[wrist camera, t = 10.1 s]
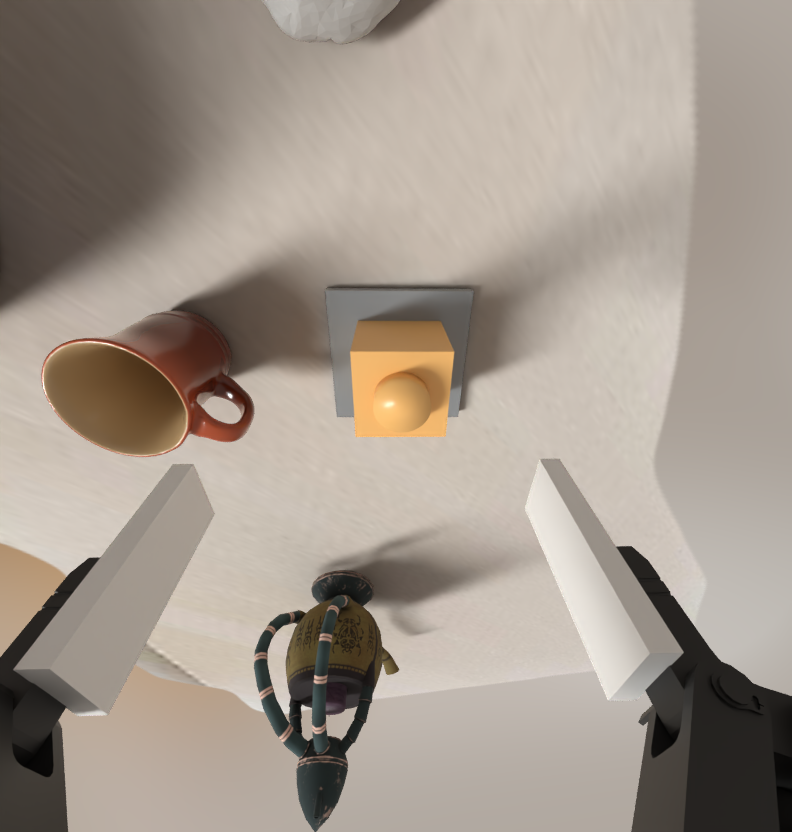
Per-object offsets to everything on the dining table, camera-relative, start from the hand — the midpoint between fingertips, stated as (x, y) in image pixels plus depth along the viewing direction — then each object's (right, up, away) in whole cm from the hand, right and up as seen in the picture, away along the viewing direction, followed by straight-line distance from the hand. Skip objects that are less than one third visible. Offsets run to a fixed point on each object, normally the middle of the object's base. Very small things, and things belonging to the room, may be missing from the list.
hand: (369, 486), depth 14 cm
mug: (-16, +8, +18) cm, 25 cm away
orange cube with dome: (+1, +8, +17) cm, 19 cm away
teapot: (-5, -26, +39) cm, 47 cm away
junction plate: (+1, +8, +18) cm, 20 cm away
